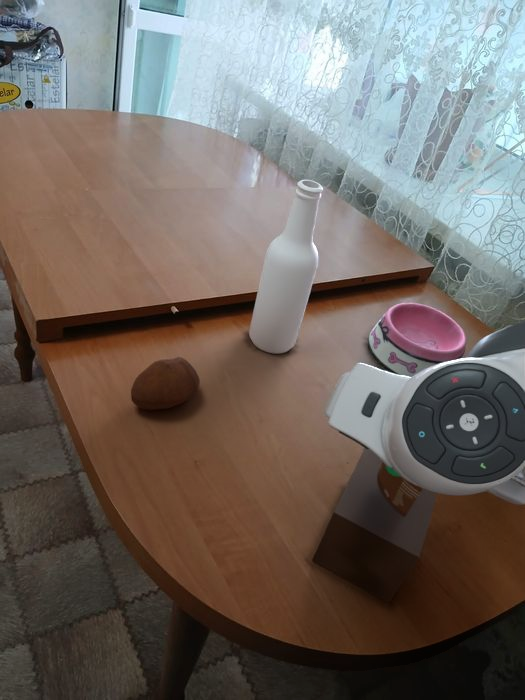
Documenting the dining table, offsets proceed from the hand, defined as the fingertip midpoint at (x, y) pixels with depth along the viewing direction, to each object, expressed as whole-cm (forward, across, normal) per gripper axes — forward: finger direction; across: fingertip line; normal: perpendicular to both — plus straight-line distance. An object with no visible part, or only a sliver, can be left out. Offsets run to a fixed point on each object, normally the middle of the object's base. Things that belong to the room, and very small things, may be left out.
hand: (418, 442), depth 59 cm
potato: (+17, +34, +10) cm, 39 cm away
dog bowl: (+45, +4, -18) cm, 49 cm away
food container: (+4, +1, +4) cm, 6 cm away
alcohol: (+34, +28, -8) cm, 45 cm away
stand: (+13, 0, +14) cm, 18 cm away
